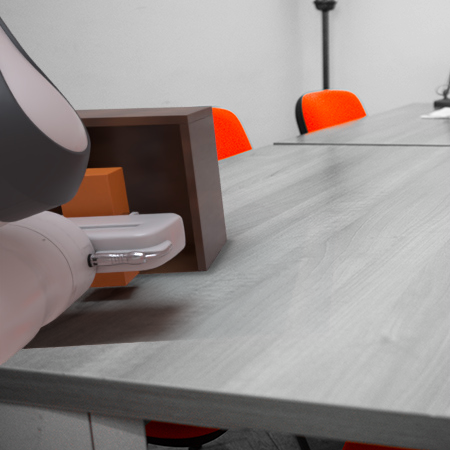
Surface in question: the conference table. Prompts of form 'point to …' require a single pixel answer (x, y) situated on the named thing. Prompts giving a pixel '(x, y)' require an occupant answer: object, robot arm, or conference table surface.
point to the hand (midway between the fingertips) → (102, 220)
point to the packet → (101, 210)
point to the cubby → (165, 172)
